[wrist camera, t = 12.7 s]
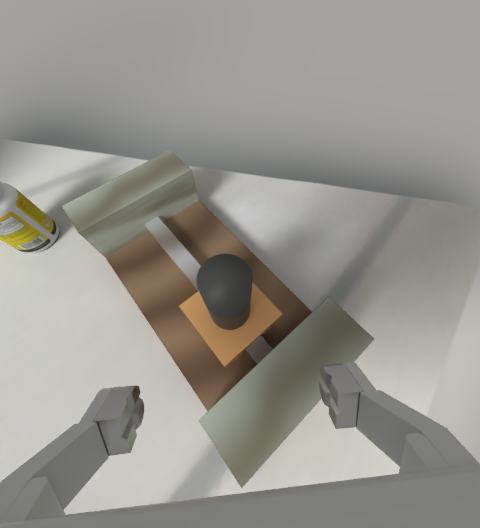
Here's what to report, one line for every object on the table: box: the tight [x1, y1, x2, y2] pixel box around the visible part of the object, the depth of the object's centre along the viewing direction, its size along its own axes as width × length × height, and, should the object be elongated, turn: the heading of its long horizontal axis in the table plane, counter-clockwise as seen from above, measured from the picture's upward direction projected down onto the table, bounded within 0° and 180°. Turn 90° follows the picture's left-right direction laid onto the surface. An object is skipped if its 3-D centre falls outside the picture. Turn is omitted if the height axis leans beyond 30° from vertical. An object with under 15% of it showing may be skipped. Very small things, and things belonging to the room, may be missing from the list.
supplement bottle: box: [0, 182, 59, 253], centre depth 24 cm, size 5×5×8 cm
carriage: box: [179, 254, 282, 368], centre depth 17 cm, size 6×6×9 cm
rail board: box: [62, 150, 374, 488], centre depth 22 cm, size 26×12×6 cm, turn 40°
